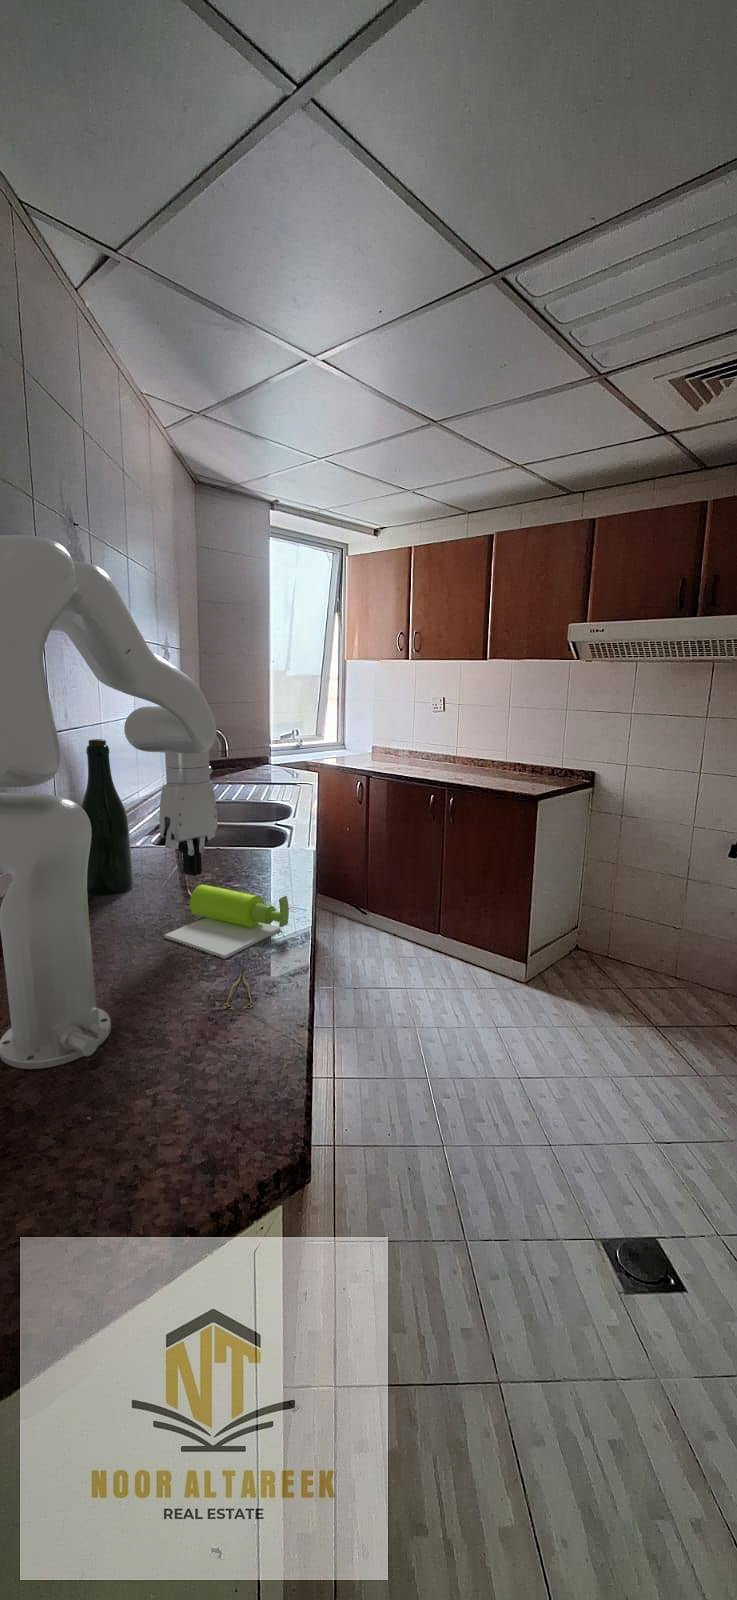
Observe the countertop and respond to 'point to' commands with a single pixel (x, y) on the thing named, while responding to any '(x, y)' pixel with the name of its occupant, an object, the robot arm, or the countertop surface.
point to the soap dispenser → (236, 907)
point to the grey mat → (221, 936)
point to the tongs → (236, 987)
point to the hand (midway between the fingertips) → (192, 873)
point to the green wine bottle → (106, 827)
